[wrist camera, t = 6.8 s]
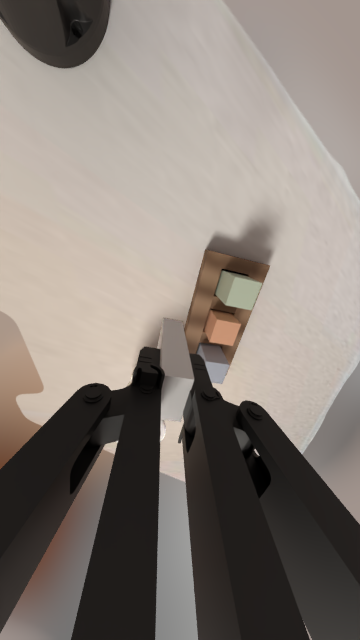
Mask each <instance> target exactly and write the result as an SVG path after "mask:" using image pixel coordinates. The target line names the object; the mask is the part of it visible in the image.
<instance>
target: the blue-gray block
mask: <svg viewBox="0 0 360 640" xmlns="http://www.w3.org/2000/svg"><path fill="white" fill-rule="evenodd" d="M196 354H199V355H200V356H201V357H202V358H203V359H204V362H205V365H206V368H207V371H208V374H209V377H210V380H211V383H219V384H222V383H223V381H224V378H225V376H226V373H227V371H228V368H229V366H230V364H229V363H228V361H227V359H226V357H225V355H224V353H223V351H222V349H221V347H220V346H218V345H212V344H206V343H200V344H199V347H198V350H197V353H196Z"/></svg>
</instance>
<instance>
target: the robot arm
mask: <svg viewBox="0 0 360 640" xmlns="http://www.w3.org/2000/svg"><path fill="white" fill-rule="evenodd" d="M108 15H109V0H0V19H1V21H2V22H3V23H4V25H5V26H6V27H7V29H8V30H9V31H10V33H11V34H12V35H13V37H14V38H15V39H16V40H17V41H18V43H19V44H20V45H21V46H22V47H23V48H24V49H25V50H26V51H28V52H29V53H30V54H31V55H32V56H34V57H35V58H37V59H38V60H40V61H42V62H44V63H46V64H48V65H51V66H54V67H58V68H72V67H76V66H78V65H81V64H83V63H84V62H86V61H87V60H88V59H89V58H90V57H92V55H93V54H94V53H95V52H96V50H97V49H98V47H99V45H100V43H101V41H102V39H103V37H104V34H105V30H106V27H107V22H108ZM182 416H183V417H184V424H183V427H182V430H181V433H180V436H179V440H178V443H181V440H182V443H183V455H184V468H185V480H186V493H187V505H188V517H189V530H190V542H191V555H192V567H193V578H194V592H195V604H196V616H197V628H198V640H310V639H309V636H308V634H307V631H306V628H305V625H306V627H307V629H308V632H309V634H310V636H311V638H312V640H360V524H359V523H358V522H357V521H356V520H355V519H354V517H353V516H352V515H351V514H350V512H349V511H348V510H347V509H346V507H344V505H343V504H342V503H341V502H340V500H339V499H338V498H337V497H336V495H335V494H334V493H333V492H332V490H331V489H330V488H329V487H328V486H327V484H326V483H325V482H324V481H323V480H322V478H321V477H320V476H319V475H318V474H317V472H316V471H315V470H314V469H313V467H312V466H311V465H310V464H309V463H308V461H307V460H306V459H305V458H304V457H303V455H302V454H301V453H300V452H299V450H298V449H297V448H296V447H295V446H294V444H293V443H292V442H291V441H290V440H289V438H288V437H287V436H286V435H285V433H284V432H283V431H282V430H281V429H280V427H279V426H278V425H277V424H276V423H275V421H274V420H273V419H272V418H271V416H270V415H269V414H268V413H267V412H266V411H265V410H264V409H263V408H262V407H261V406H260V405H258V404H257V403H254V402H252V401H243V402H242V403H241V404H240V406H237V405H234V404H232V403H229V402H227V401H225V400H223V398H222V396H221V394H220V392H219V391H217V390H216V389H215V388H213V386H212V383H211V380H210V377H209V374H208V371H207V368H206V365H205V362H204V359H203V358H202V357H201V356H200V355H199V354H192V353H189V351H188V346H187V341H186V337H185V332H184V327H183V322H182V321H178V320H173V319H168V318H163V322H162V327H161V331H160V336H159V341H158V346H157V348H150V347H144V348H143V349H142V350H140V354H139V358H138V362H137V366H136V367H135V369H134V372H133V378H132V383H131V384H130V385H129V386H127V387H125V388H123V389H119V390H113V391H111V390H110V389H109V387H108V386H106V385H104V384H99V383H93V384H88V385H85V386H83V387H81V388H80V389H79V390H77V391H76V392H75V393H74V394H73V396H72V397H71V398H70V399H69V400H68V401H67V402H66V403H65V404H64V405H63V406H62V407H61V408H60V409H59V410H58V411H57V412H56V413H55V414H54V415H53V416H52V417H51V418H50V419H49V420H48V421H47V422H46V423H45V424H44V425H43V426H42V427H41V428H40V429H39V430H38V432H36V433H35V434H34V436H33V437H32V438H31V439H30V440H29V441H28V442H27V443H26V444H25V445H24V446H23V447H22V448H21V449H20V450H19V451H18V452H17V453H16V454H15V455H14V456H13V457H12V458H11V459H10V460H9V461H8V462H7V463H6V464H5V465H4V466H3V467H2V468H1V469H0V633H1V631H2V629H3V627H4V625H5V624H6V622H7V620H8V618H9V616H10V614H11V613H12V611H13V609H14V607H15V606H16V604H17V602H18V600H19V598H20V596H21V594H22V593H23V591H24V589H25V587H26V586H27V584H28V582H29V580H30V579H31V577H32V575H33V573H34V571H35V570H36V568H37V566H38V564H39V562H40V561H41V559H42V557H43V555H44V553H45V552H46V550H47V548H48V546H49V544H50V542H51V541H52V539H53V537H54V535H55V534H56V532H57V530H58V528H59V526H60V525H61V523H62V521H63V519H64V517H65V516H66V514H67V512H68V510H69V508H70V506H71V505H72V503H73V501H74V499H75V497H76V496H77V494H78V492H79V490H80V489H81V487H82V485H83V483H84V481H85V480H86V478H87V476H88V474H89V472H90V471H91V469H92V467H93V465H94V463H95V462H96V460H97V458H98V456H99V454H100V453H101V451H102V449H103V447H104V445H105V444H107V443H111V442H115V441H118V444H117V448H116V452H115V457H114V461H113V465H112V469H111V473H110V478H109V482H108V486H107V490H106V495H105V499H104V503H103V507H102V511H101V516H100V520H99V524H98V528H97V533H96V537H95V541H94V545H93V549H92V554H91V558H90V562H89V566H88V571H87V575H86V579H85V583H84V588H83V591H82V596H81V600H80V605H79V608H78V613H77V617H76V621H75V625H74V629H73V634H72V638H71V640H155V623H156V583H157V542H158V506H159V505H158V504H159V467H160V428H161V420H167V421H178V422H181V419H182ZM254 449H256V450H257V452H258V453H259V455H260V456H258V455H257V454H256V453H255V451H254ZM303 621H304V622H303ZM304 623H305V625H304Z"/></svg>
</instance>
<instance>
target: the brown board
mask: <svg viewBox="0 0 360 640" xmlns="http://www.w3.org/2000/svg"><path fill="white" fill-rule="evenodd" d="M269 267H270V266H269V265H265V264H261V263H257V262H253V261H249V260H245V259H241V258H237V257H233V256H229V255H225V254H221V253H217V252H213V251H209V250H205V253H204V256H203V260H202V264H201V268H200V272H199V275H198V279H197V283H196V287H195V291H194V294H193V298H192V302H191V306H190V309H189V313H188V317H187V321H186V325H185V328H184V332H185V337H186V341H187V346H188V351H189V353H192V354H196V351H197V348H198V345H199V342H200V343H206V344H212V345H218V346H220V347H221V349H222V351H223V353H224V355H225V357H226V359H227V361H228V363H229V364H231V362H232V359H233V357H234V354H235V352H236V349H237V347H238V344H239V342H240V340H241V337H242V335H243V332H244V330H245V327H246V325H247V322H248V320H249V317H250V315H251V312H252V310H253V308H252V310H247V309H242V308H237V307H232V306H227V305H225V304H224V303H223V302H222V301H221V300H220V299H219V298H218V297H217V296H216V295H215V294H214V293H215V290H216V286H217V283H218V280H219V277H220V273H221V270H222V268H223V269H227V270H231V271H235V272H239V273H243V274H242V275H244V276H247V277H249V278H252V279H254V280H256V281H259V282H261V283H262V285H263V282H264V280H265V277H266V275H267V272H268V270H269ZM261 287H262V286H261ZM260 290H261V288H260ZM259 292H260V291H259ZM258 295H259V293H258ZM257 297H258V296H257ZM256 300H257V298H256ZM255 302H256V301H255ZM254 305H255V303H254ZM253 307H254V306H253ZM210 308H211V309H216V310H221V311H226V312H231V314H232V315H233V316H234V317H235V318H236V319H237V320H238V321H239V322H240V323H241V326H240V329H239V331H238V334H237V336H236V339H235V341H234V344H233V346H230V345H224V344H218V343H212V342H209V340H208V337H207V335H206V333H205V331H204V325H205V322H206V319H207V316H208V312H209V309H210ZM229 367H230V366H229ZM228 369H229V368H228ZM227 372H228V371H227ZM226 374H227V373H226Z"/></svg>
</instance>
